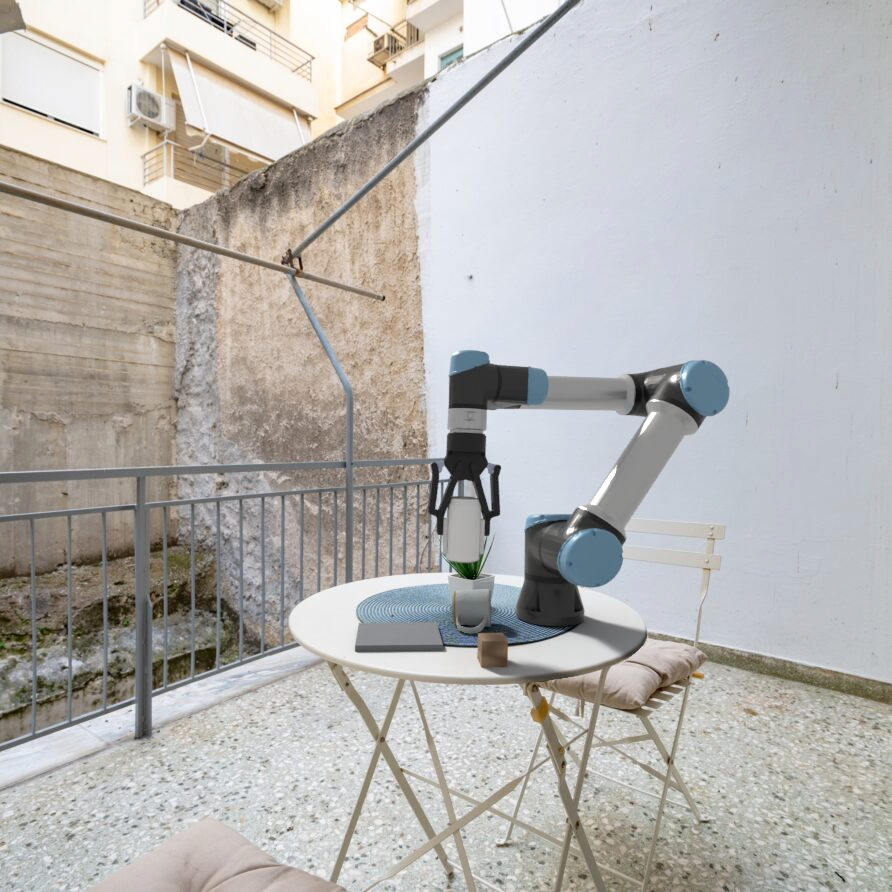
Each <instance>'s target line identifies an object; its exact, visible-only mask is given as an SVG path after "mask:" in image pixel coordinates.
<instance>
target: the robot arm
mask: <svg viewBox="0 0 892 892" xmlns="http://www.w3.org/2000/svg"><path fill="white" fill-rule="evenodd" d="M728 383H729V380H728V377H727V375H726V374H725V372H724V371H723V370H722V368H721V367H720V366H718V365H717V364H715V363H714V362H712V361H710V360H706V359H705V360H704V359H699V360H695V359H694V360H688V361H686V362H685V363H680V364H679V363H678V364H674V365H669V366H665V367H660V368H657V369H652V370H648V371H644V372H638V373H637V372H636V373H621V374H619V375H618V376H617V377H601V376H600V377H598V376H593V377H592V376H565V375H564V376H562V375H558V376H557V375H548V374H547V372H546V370H544V369H542V368H538V367H532V366H521V365H520V366H519V365H503V364H495V363H491V360H490V355H489V353H487V352H486V351H480V350H477V349H465V350H464V349H463V350H462V349H461V350H457V351H455V352H453V354H452V355H451V357H450V363H449V373H448V409H447V424H446V425H447V427H446V429H447V430H449V432H448V433H447V434H446V450H445V451H446V452H445V456H444V458H443V460H440V461H436V462H432V461H431V462H430V464H429V467H430V471H431V480H430V488H429V494H428V496H429V497H428V504H427V513H428V514H429V515H431V516H434V517H436V525H435V526H436V528H435V529H436V534H437V536H441V541H440V542H441V543H440V544H441V545H440V546H441V547H440V552H441V553H442V554H444V555H446V554H447V531H448V519H447V516H446V517H445V515H446V513H447V508H448V505H449V502H450V499H451V497H452V496H453V494H454V491H455V489H456V486H457V484H458V482H459V481H462V482H463V481H469V482H471V483H472V486H473V488H474V491H475V495H476V497H477V498H479V502H480V505H481V525H480V551H479V555H484V554H485V552H484V551H485V537H489V536H490V533H491V532H490V531H491V520H492V519H494V518H496V517H499V516H500V515H501V505H500V502H501V500H500V499H501V498H500V482H499V477H500V474H501V470H502V466H501V465H500V464H494V463H491V462H488V461H489V460H488V458H487V456H486V452H487V450H486V449H487V435H486V434H485V433H484V432H486V431H487V425H488V424H487V421H488V420H487V419H488V411H496V410H551V411H552V410H556V411H557V410H558V411H559V410H560V411H563V410H564V411H606V412H607V411H609V412H610V411H612V412H616V414H618V415H620V416H632V417H633V416H634V417H635V416H636V417H643V418H644V419H643V421H642V423H641V424H640V426H639V427H638V429H637V430H636V432H635V433H634V435H633V436H632V437H631V439H630V441H629V442H628V444H627V445H626V446H625V448H624V450H623V451H622V453H620V456H619V457H618V459H617V460H616V462H615V463H614V465H613V466H612V468H611V469H610V471H609V472H608V474H607V475H606V477H605V478H604V479H603V481H602V482H601V484H600V486H599V487H598V489H596V492H595V493H594V494H593V496H592V498H591V499H590V500H589V502H588V503H587V504H586V505H585V504H584V505H579V506H577V507H576V508H575V509H574V511H572V513H553V514H552V513H549V514H546V513H545V514H542V513H540V514H530V515H528V516H527V517H526V520H525V527H524V572H523V574H524V576H523V577H524V578H523V579H524V580H523V583H522V586H521V589H520V592H519V595H518V598H517V600H516V604H515V617H516V618H517V619H519V620H522V621H523V622H525V623H526V622H527V623H530V624H533V625H539V626H545V625H546V626H547V627H569V626H568V625H571V626H576V625H579V624H581V623H584V621H585V607H584V604H583V601H582V597H581V594H580V591H579V586H580V587H583V588H589V589H591V588H592V589H593V588H598V587H599V588H600V587H602V586H605V585H606V584H608V583H610V582H611V581H612V580H613V579H615V578H616V576H617V575H618V574H619V572H620V571H621V568H622V566H623V564H624V563H623V562H624V556H623V553H624V550H623V546H624V544H625V543H626V541H627V539H628V538H627V535H626V530H625V528H626V526H627V525H628V523H629V522H630V520H631V519H632V517H633V516H634V514H635V512H636V511H637V509H638V508H639V506H641V504H642V502H643V500H644V498H645V497H646V495H648V492H649V491H650V489H651V488H652V487H653V485H654V484H655V482H656V480H657V479H658V477H659V475H661V472H662V471H663V470H664V468H665V467H666V465H667V463H668V462H669V460H670V459H671V457H672V456H673V454H674V453H675V452H676V450H677V448H678V447H679V445H680V444H681V442H682V440H683V439H684V437H685V436H691V435H695V434H696V433H697V432H698V431H699V428H700V427H701V426H702V424H703V423H704V421H705V419H706V418H707V417H713V416H716V415H719V413H721V412H722V411H723V410H725V409H726V407H727V405H728V402H729V400H730V393H731V391H730V386H729V384H728ZM444 467H445V469H446V470H447V471H448V473H449V474H450V476H449V479H448V483H447V485H446V487H445V490H444V493H443V495H442V498H441V500H440V503H439V505H438V508H437V509H436V507H437V498H438V490H439V482H440V473H442V471H443V469H444ZM485 469H487V473H488V474H489V484H490V485H489V486H490V504H491V505H490V506H491V507H490V508H489V504H488V501H487V497H486V494H485V491H484V487H483V484H482V480H481V475H482V473H483V472H484V471H485ZM490 509H491V510H490ZM546 626H545V627H546Z"/></svg>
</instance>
